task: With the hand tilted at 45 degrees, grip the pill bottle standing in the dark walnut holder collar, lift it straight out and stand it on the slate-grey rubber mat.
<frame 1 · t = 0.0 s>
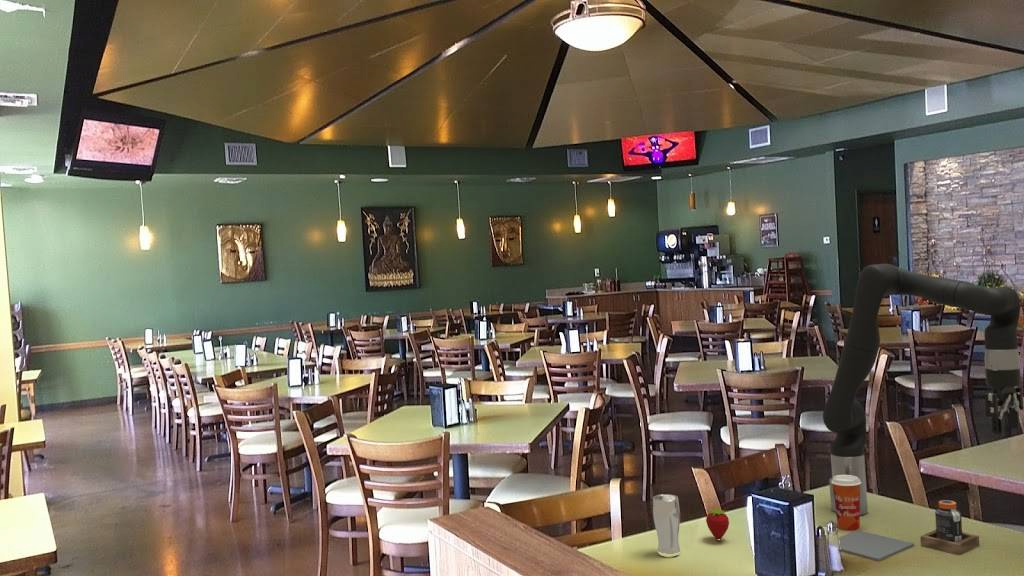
hand: (1006, 431, 204), 29 cm above the table, tool pointing down, fingers open, 8 cm apart
paper cup: (849, 528, 228), on the table
strawberry: (718, 541, 224), on the table
holder collar: (950, 545, 209), on the table
beer glass: (669, 554, 217), on the table
rubber mat: (867, 545, 212), on the table
pill bottle: (950, 546, 209), resting in holder collar
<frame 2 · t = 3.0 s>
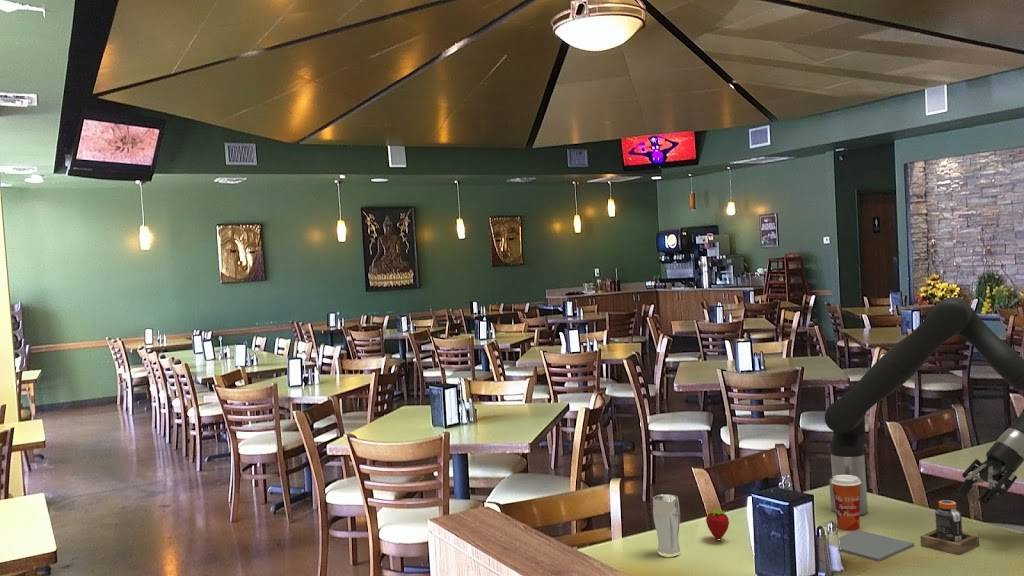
hand: (970, 498, 209), 12 cm above the table, tool tilted 45°, fingers open, 8 cm apart
nothing on the table moved.
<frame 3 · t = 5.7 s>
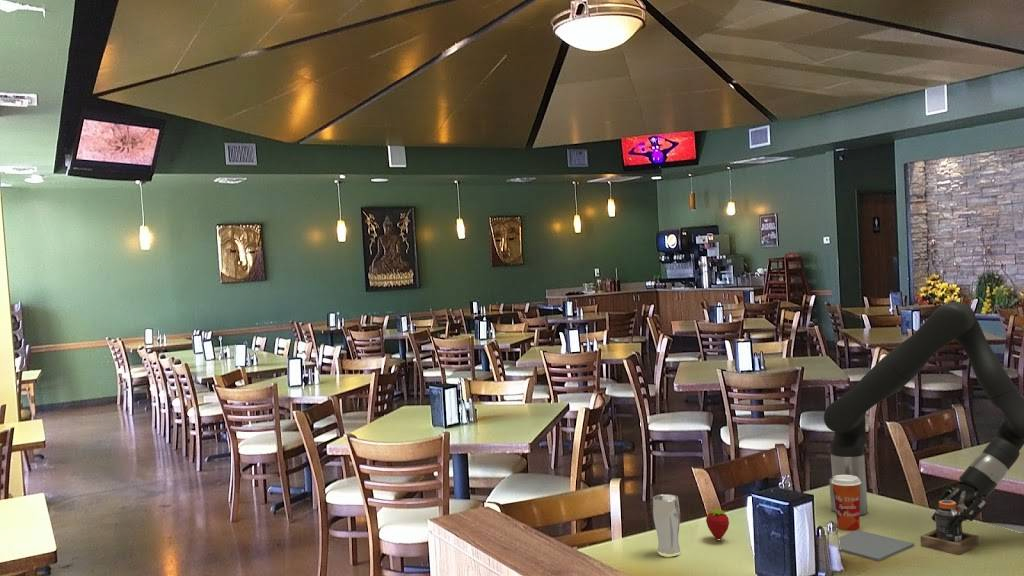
hand: (942, 524, 208), 6 cm above the table, tool tilted 45°, fingers closed on pill bottle, 6 cm apart
pill bottle: (950, 546, 209), resting in holder collar, touching gripper
everything else where it was.
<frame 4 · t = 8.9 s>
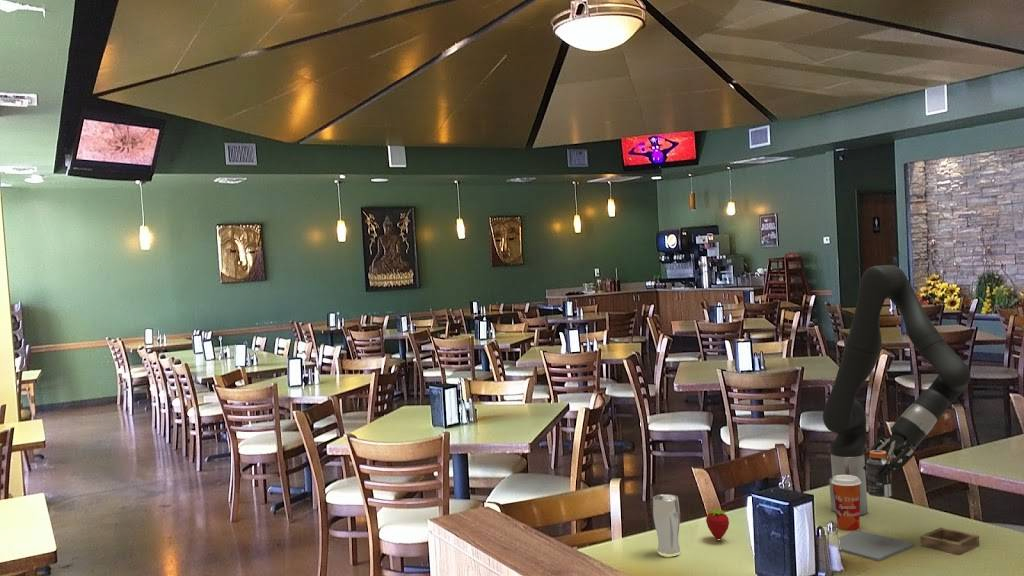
hand: (872, 474, 212), 19 cm above the table, tool tilted 45°, fingers closed on pill bottle, 6 cm apart
pill bottle: (880, 495, 212), point 13 cm above the table, touching gripper
everything else where it was.
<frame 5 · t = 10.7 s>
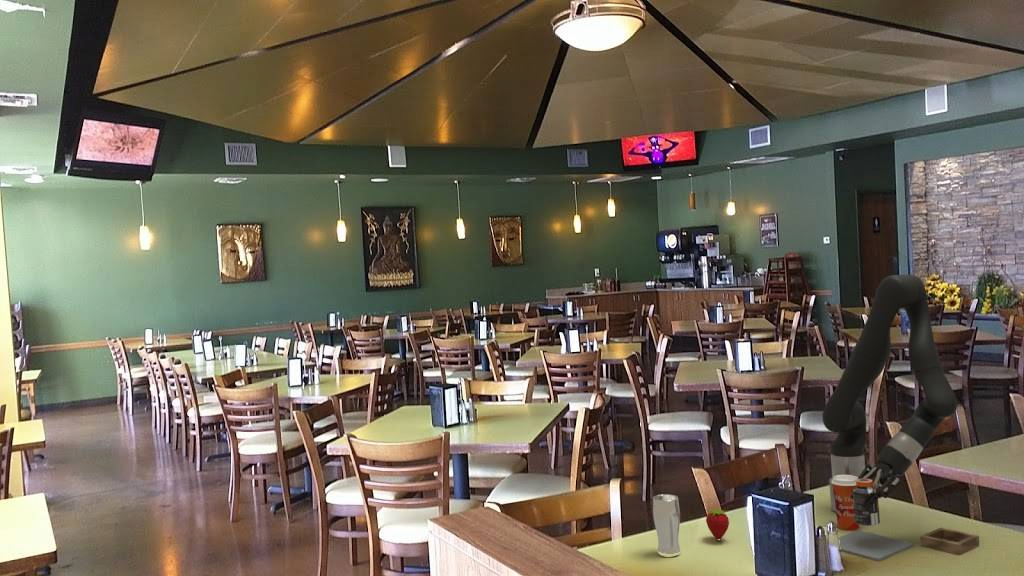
hand: (859, 502, 212), 11 cm above the table, tool tilted 45°, fingers closed on pill bottle, 6 cm apart
pill bottle: (867, 524, 212), point 6 cm above the table, touching gripper
everything else where it was.
when the fingers open (8 cm above the table, at t = 12.4 s): pill bottle drops 2 cm, resting on rubber mat.
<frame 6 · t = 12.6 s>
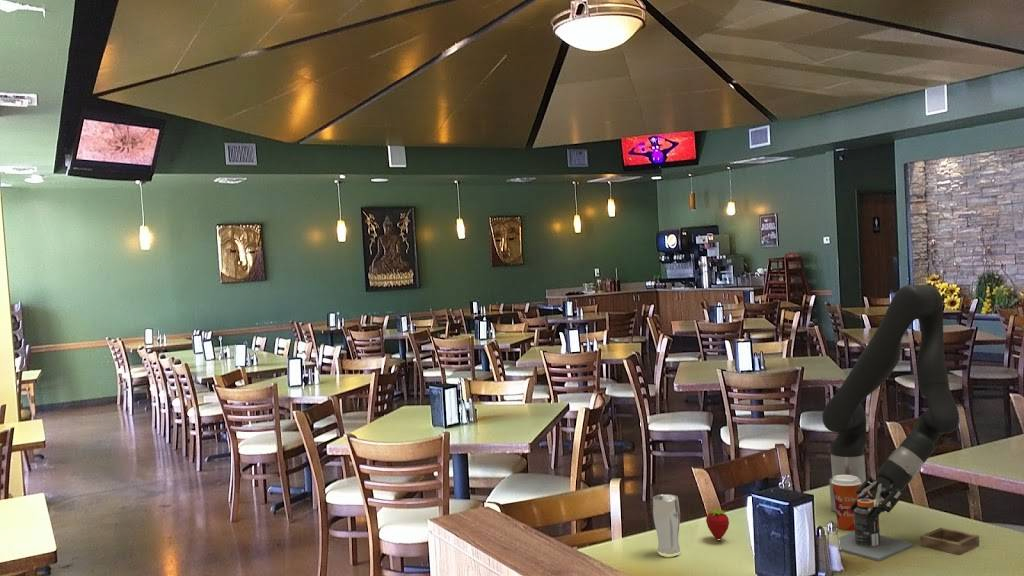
hand: (860, 515, 212), 8 cm above the table, tool tilted 45°, fingers open, 7 cm apart
pill bottle: (867, 544, 213), resting on rubber mat
everything else where it was.
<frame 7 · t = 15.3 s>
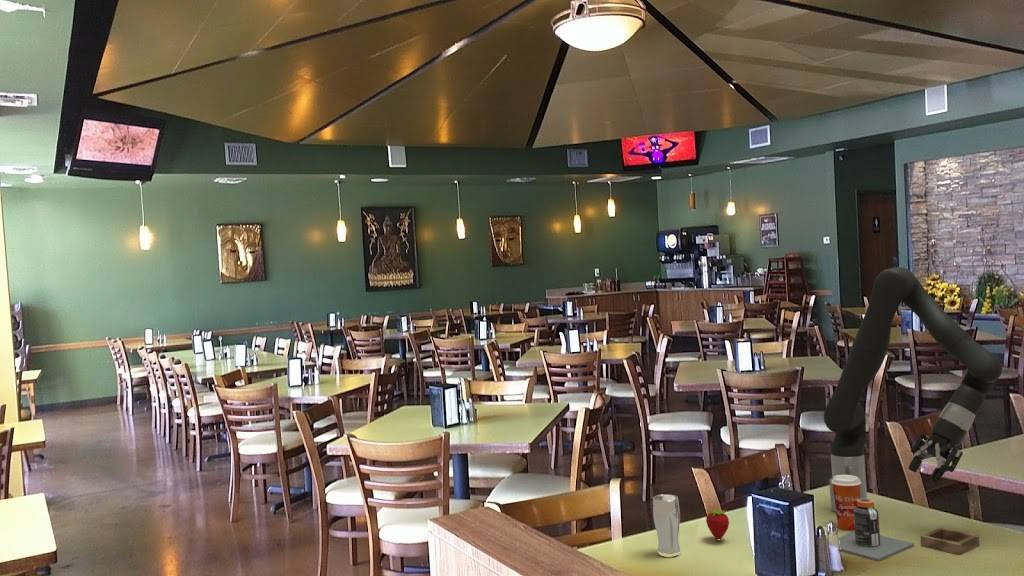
hand: (921, 476, 215), 16 cm above the table, tool tilted 35°, fingers open, 8 cm apart
nothing on the table moved.
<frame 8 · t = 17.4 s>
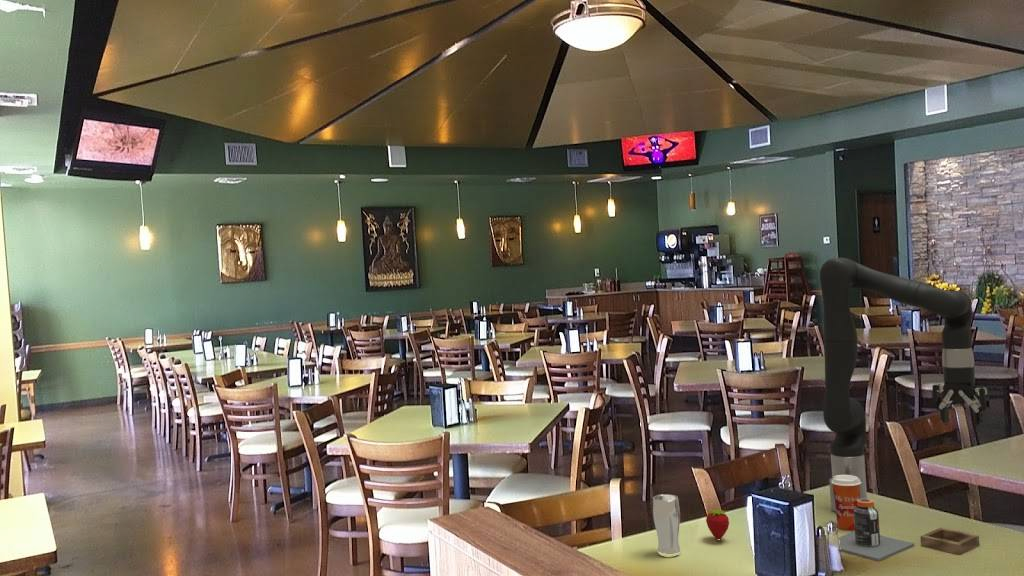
hand: (961, 424, 221), 28 cm above the table, tool pointing down, fingers open, 8 cm apart
nothing on the table moved.
at the end: pill bottle inside the target area on the rubber mat (0.2 cm from its centre), point 0.4 cm above the rubber mat's base; pill bottle tilted 0°; the gripper is holding nothing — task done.
